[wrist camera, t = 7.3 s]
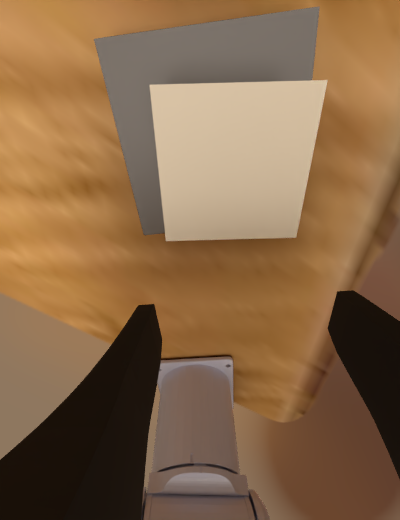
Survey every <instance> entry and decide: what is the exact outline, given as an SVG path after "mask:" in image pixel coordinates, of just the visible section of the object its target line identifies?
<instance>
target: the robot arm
mask: <svg viewBox="0 0 400 520" xmlns="http://www.w3.org/2000/svg"><path fill="white" fill-rule="evenodd" d="M328 331H329V333H330V336H331V339H332V341H333V344H334V346H335V348H336V351H337V353H338V355H339V357H340V359H341V361H342V362H343V364H344V366H345V368H346V370H347V372H348V373H349V375H350V377H351V379H352V381H353V382H354V384H355V386H356V387H357V389H358V391H359V393H360V395H361V397H362V398H363V400H364V402H365V404H366V406H367V407H368V409H369V411H370V413H371V415H372V417H373V419H374V421H375V423H376V425H377V427H378V430H379V432H380V434H381V436H382V439H383V441H384V443H385V445H386V448H387V450H388V452H389V454H390V457H391V459H392V462H393V464H394V467H395V469H396V471H397V474H398V476H399V478H400V321H398V320H397V319H395V318H394V317H393V316H391V315H389V314H388V313H387V312H385V311H384V310H382V309H381V308H379V307H378V306H376V305H374V304H373V303H371V302H370V301H369V300H367V299H366V298H364V297H363V296H361V295H360V294H358V293H357V292H355V291H339V292H337V295H336V299H335V303H334V306H333V310H332V314H331V318H330V322H329V326H328ZM161 350H162V337H161V332H160V328H159V323H158V319H157V315H156V310H155V306H154V304H150V305H139V306H138V307H137V308H136V310H135V311H134V313H133V314H132V316H131V317H130V319H129V320H128V322H127V323H126V325H125V326H124V328H123V329H122V331H121V332H120V334H119V335H118V336H117V338H116V339H115V341H114V342H113V343H112V345H111V346H110V347H109V349H108V350H107V352H106V353H105V354H104V355H103V357H102V358H101V359H100V361H99V362H98V363H97V364H96V365H95V367H94V368H93V369H92V370H91V372H90V373H89V374H88V375H87V376H86V377H85V379H84V380H83V381H82V382H81V383H80V384H79V385H78V386H77V388H76V389H75V390H74V391H73V392H72V393H71V394H70V395H69V396H68V397H67V399H65V400H64V402H62V403H61V404H60V405H59V407H57V408H56V410H54V411H53V413H51V414H50V415H49V416H48V418H46V419H45V420H44V421H43V422H42V423H41V424H40V425H39V426H38V427H37V428H36V429H35V430H34V431H32V432H31V433H30V434H29V435H28V436H27V437H26V438H25V439H23V440H22V441H21V442H20V443H19V444H18V445H17V446H16V447H14V448H13V449H12V450H11V451H10V452H9V453H8V454H7V455H5V456H4V457H3V458H2V459H1V460H0V520H270V518H269V515H268V512H267V509H266V507H265V505H264V503H263V502H262V500H261V499H260V498H259V496H258V494H257V493H256V492H255V491H254V490H250V489H248V484H247V477H246V475H240V469H239V461H238V452H237V443H236V436H235V426H234V417H233V359H232V358H231V357H228V356H227V357H210V358H193V359H176V360H161ZM157 384H158V387H159V391H160V403H159V412H158V420H157V430H156V438H155V447H154V456H153V464H152V472H151V473H150V474H149V482H148V490H147V493H146V487H144V476H145V464H146V453H147V442H148V433H149V426H150V419H151V414H152V408H153V403H154V397H155V392H156V386H157Z"/></svg>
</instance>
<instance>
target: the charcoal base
mask: <svg viewBox="0 0 400 520" xmlns="http://www.w3.org/2000/svg"><path fill="white" fill-rule="evenodd" d="M318 17H319V7H313V8H306V9H299V10H292V11H285V12H278V13H271V14H264V15H257V16H250V17H243V18H236V19H229V20H222V21H215V22H208V23H202V24H195V25H188V26H181V27H174V28H167V29H160V30H153V31H146V32H139V33H132V34H125V35H118V36H111V37H104V38H97V39H94V41H95V45H96V49H97V53H98V57H99V61H100V65H101V69H102V72H103V76H104V80H105V84H106V88H107V92H108V96H109V100H110V104H111V108H112V112H113V116H114V120H115V123H116V127H117V131H118V135H119V139H120V143H121V147H122V151H123V155H124V159H125V163H126V167H127V171H128V174H129V178H130V182H131V186H132V190H133V194H134V198H135V202H136V206H137V210H138V214H139V218H140V222H141V225H142V229H143V233H144V235H151V234H160V233H165V228H164V218H163V209H162V199H161V190H160V180H159V171H158V161H157V152H156V142H155V133H154V123H153V114H152V104H151V95H150V85H157V84H195V83H234V82H272V81H310V80H312V77H313V67H314V57H315V47H316V37H317V27H318Z"/></svg>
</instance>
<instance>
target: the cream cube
mask: <svg viewBox="0 0 400 520" xmlns="http://www.w3.org/2000/svg"><path fill="white" fill-rule="evenodd" d="M327 81H328V80H310V81H272V82H234V83H195V84H157V85H150V95H151V104H152V114H153V123H154V133H155V142H156V152H157V161H158V171H159V180H160V190H161V199H162V209H163V218H164V228H165V237H166V241H190V240H227V239H264V238H296V236H297V231H298V226H299V221H300V216H301V211H302V206H303V201H304V196H305V191H306V186H307V181H308V176H309V171H310V166H311V161H312V156H313V151H314V146H315V141H316V136H317V131H318V126H319V121H320V116H321V111H322V106H323V101H324V96H325V91H326V86H327Z"/></svg>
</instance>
